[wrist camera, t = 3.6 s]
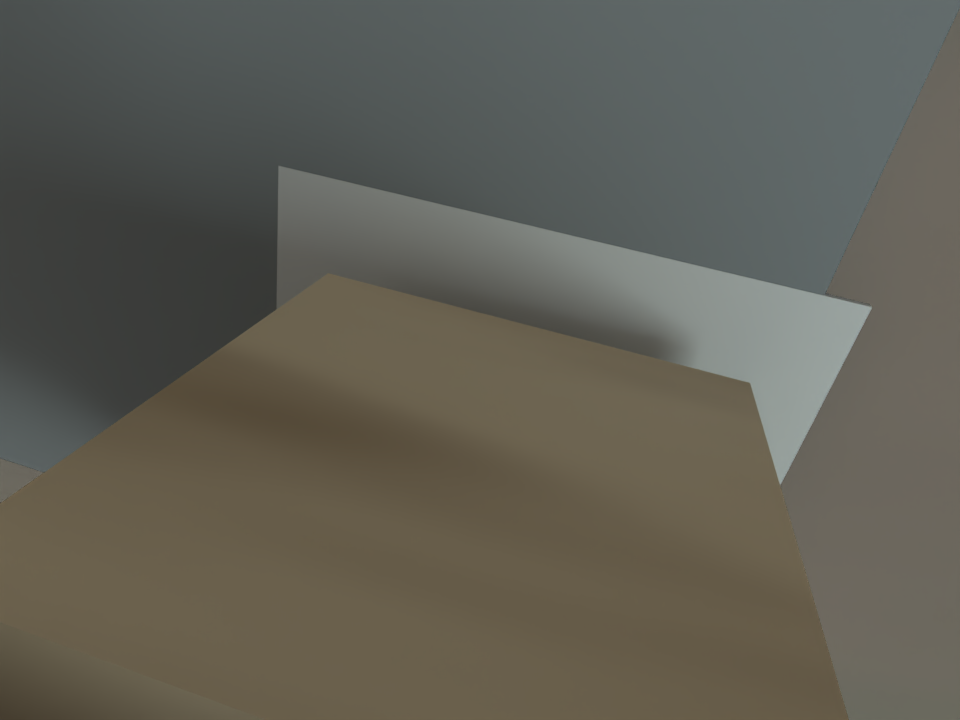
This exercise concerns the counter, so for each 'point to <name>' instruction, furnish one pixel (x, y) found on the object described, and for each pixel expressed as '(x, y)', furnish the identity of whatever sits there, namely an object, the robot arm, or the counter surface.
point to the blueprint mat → (439, 180)
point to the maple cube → (414, 536)
